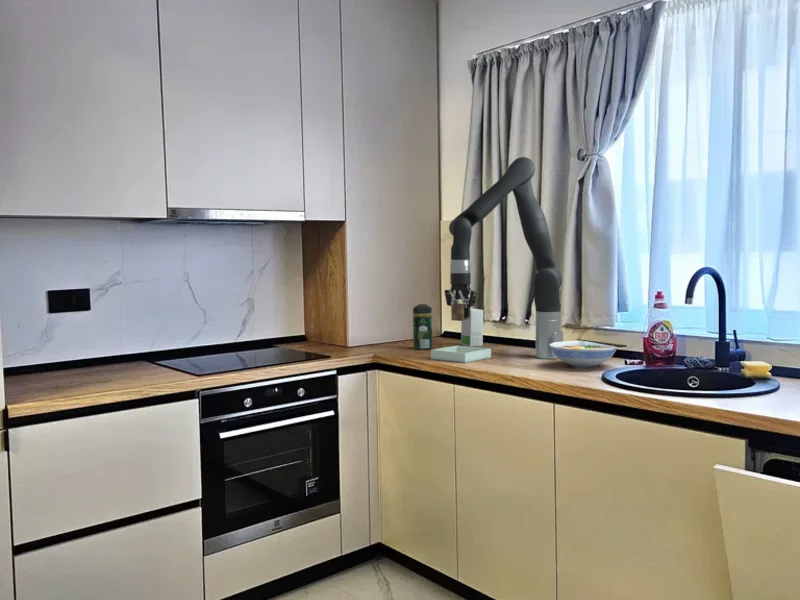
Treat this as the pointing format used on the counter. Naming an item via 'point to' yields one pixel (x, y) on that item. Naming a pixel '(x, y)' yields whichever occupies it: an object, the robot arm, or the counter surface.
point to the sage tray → (461, 354)
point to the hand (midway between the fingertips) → (460, 317)
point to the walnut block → (458, 312)
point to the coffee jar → (422, 327)
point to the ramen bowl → (584, 352)
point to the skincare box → (473, 329)
